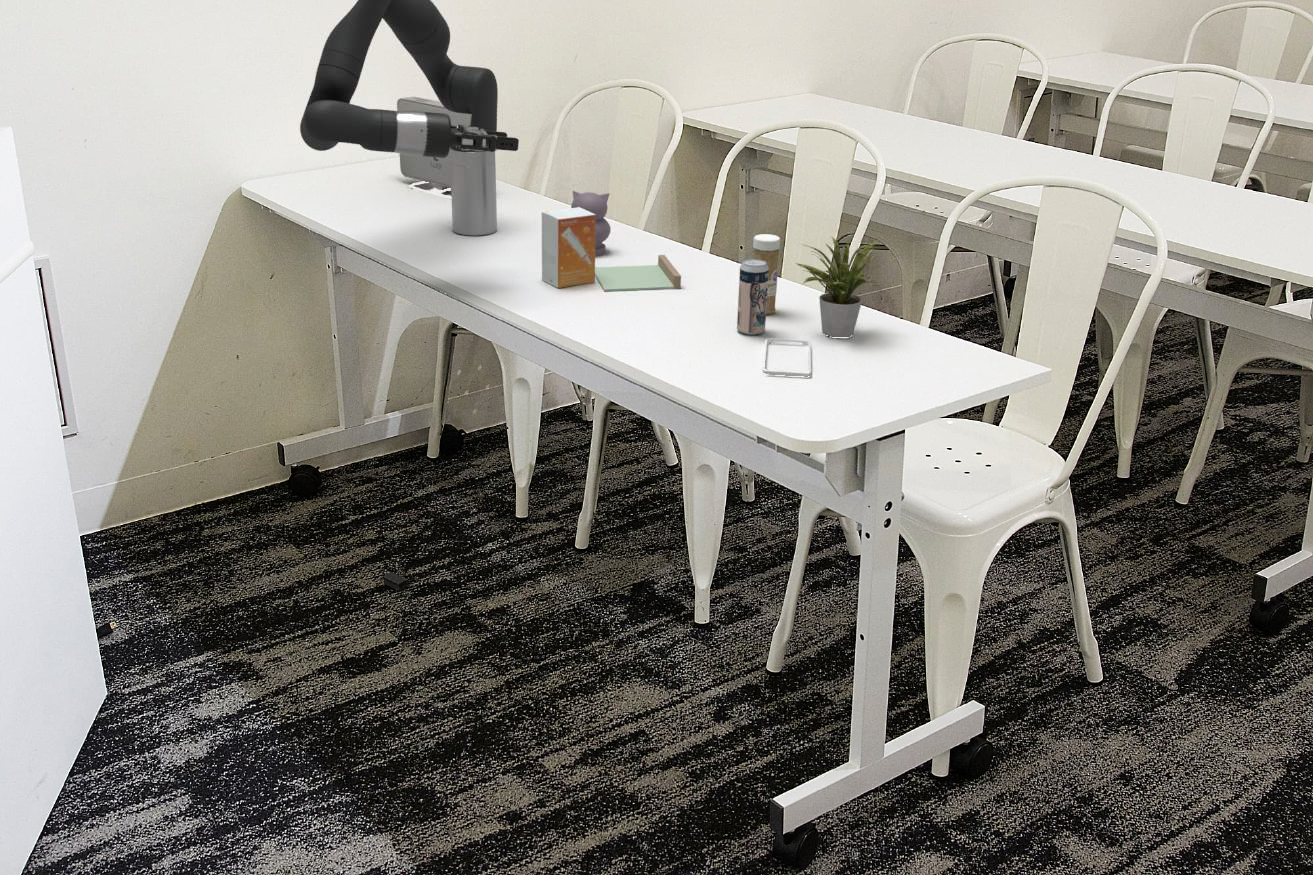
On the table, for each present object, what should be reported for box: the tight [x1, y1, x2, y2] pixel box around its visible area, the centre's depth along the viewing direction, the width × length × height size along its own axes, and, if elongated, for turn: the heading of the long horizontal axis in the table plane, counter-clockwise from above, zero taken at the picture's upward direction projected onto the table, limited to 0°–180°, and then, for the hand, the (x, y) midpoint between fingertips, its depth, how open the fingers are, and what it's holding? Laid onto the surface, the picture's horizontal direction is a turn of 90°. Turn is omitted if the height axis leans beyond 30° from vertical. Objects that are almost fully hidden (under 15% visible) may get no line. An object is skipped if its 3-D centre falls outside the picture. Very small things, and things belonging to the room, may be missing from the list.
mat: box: [595, 254, 682, 292], centre depth 246 cm, size 14×14×2 cm
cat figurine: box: [570, 190, 612, 257], centre depth 260 cm, size 8×8×12 cm
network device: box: [396, 96, 471, 190], centre depth 303 cm, size 26×9×20 cm, turn 50°
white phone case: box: [762, 338, 812, 377], centre depth 209 cm, size 7×1×15 cm
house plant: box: [794, 236, 880, 338], centre depth 219 cm, size 14×14×16 cm
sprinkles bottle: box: [752, 233, 781, 316], centre depth 228 cm, size 5×5×13 cm
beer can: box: [736, 258, 769, 336], centre depth 218 cm, size 5×5×12 cm
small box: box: [541, 207, 596, 289], centre depth 241 cm, size 8×6×13 cm
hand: (512, 141), depth 233 cm, fingers open, 8 cm apart
